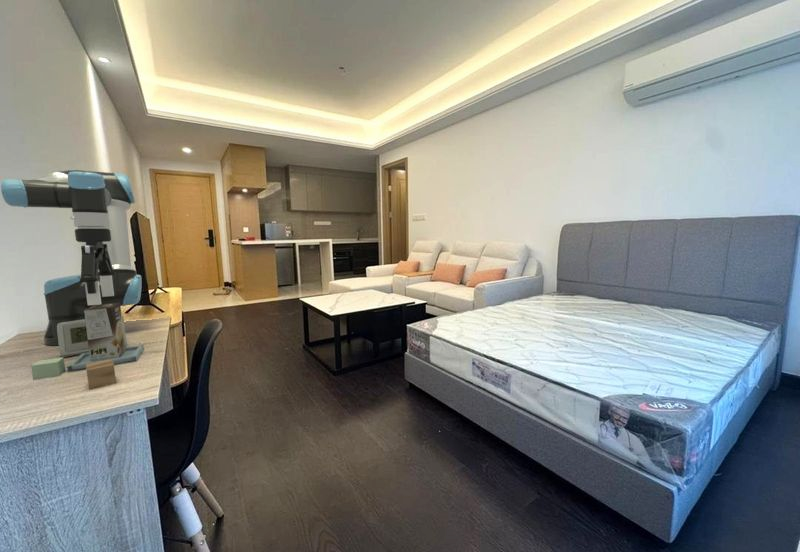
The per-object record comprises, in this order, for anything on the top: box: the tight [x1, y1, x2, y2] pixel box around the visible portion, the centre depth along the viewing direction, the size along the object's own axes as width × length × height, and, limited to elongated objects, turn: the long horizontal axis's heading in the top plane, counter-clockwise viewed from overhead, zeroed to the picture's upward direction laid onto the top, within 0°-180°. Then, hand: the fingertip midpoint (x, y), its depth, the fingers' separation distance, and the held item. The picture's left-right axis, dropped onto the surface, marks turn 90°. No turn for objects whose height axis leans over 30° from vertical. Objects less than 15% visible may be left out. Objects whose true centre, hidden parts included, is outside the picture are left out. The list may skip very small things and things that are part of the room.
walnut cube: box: [85, 360, 117, 390], centre depth 83 cm, size 5×5×5 cm
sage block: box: [30, 357, 66, 381], centre depth 88 cm, size 4×5×4 cm
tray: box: [66, 344, 145, 373], centre depth 99 cm, size 12×15×2 cm
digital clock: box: [57, 314, 128, 358], centre depth 107 cm, size 16×9×11 cm, turn 121°
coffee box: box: [84, 303, 126, 362], centre depth 98 cm, size 9×6×16 cm
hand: (101, 300), depth 97 cm, fingers open, 13 cm apart
